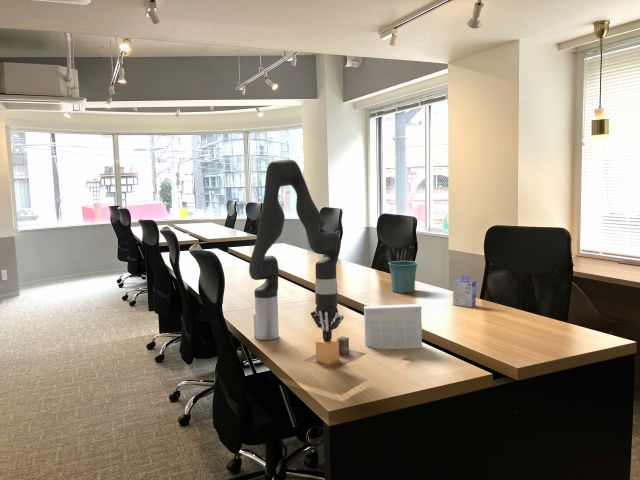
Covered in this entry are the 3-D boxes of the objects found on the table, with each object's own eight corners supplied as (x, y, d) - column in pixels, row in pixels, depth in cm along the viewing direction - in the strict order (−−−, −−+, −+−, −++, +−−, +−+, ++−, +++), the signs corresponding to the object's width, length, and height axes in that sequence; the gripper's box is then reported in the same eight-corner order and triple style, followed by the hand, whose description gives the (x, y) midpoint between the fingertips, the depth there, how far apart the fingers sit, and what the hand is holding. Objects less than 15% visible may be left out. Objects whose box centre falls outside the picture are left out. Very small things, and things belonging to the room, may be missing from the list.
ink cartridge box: (476, 305, 250) (476, 276, 248) (472, 307, 246) (472, 278, 244) (457, 302, 256) (457, 274, 254) (452, 305, 252) (453, 276, 250)
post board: (303, 364, 175) (303, 344, 174) (335, 350, 189) (334, 331, 188) (336, 373, 166) (336, 352, 165) (366, 357, 180) (366, 338, 179)
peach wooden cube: (316, 361, 173) (315, 341, 173) (326, 356, 178) (325, 337, 177) (329, 364, 170) (328, 344, 169) (339, 359, 174) (338, 339, 174)
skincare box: (419, 344, 194) (419, 303, 192) (422, 348, 188) (422, 307, 186) (364, 346, 193) (363, 305, 191) (365, 350, 188) (365, 308, 186)
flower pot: (382, 289, 289) (382, 262, 288) (406, 286, 296) (406, 259, 294) (399, 295, 275) (398, 266, 273) (423, 292, 281) (423, 263, 280)
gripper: (304, 290, 172) (305, 340, 174) (335, 295, 164) (336, 347, 166) (317, 286, 178) (319, 334, 180) (348, 291, 170) (349, 341, 172)
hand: (327, 340), depth 173 cm, fingers closed
